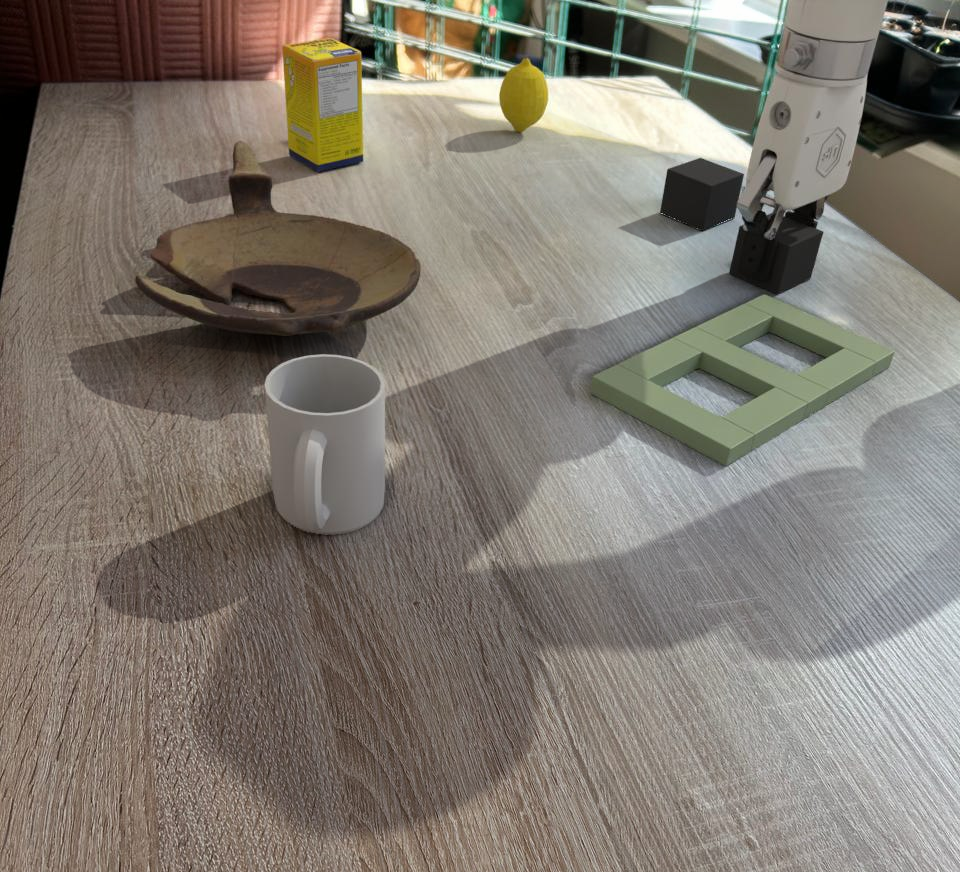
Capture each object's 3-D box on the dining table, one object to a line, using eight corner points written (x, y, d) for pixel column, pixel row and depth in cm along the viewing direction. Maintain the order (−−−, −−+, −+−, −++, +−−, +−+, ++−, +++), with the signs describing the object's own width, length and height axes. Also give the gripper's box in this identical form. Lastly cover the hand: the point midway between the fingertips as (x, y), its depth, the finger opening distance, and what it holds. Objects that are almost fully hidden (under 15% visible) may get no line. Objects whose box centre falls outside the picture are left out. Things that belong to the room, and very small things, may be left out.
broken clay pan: (107, 378, 82) (89, 280, 77) (199, 219, 104) (190, 135, 99) (405, 400, 83) (406, 304, 77) (434, 237, 105) (437, 154, 99)
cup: (393, 479, 75) (394, 361, 69) (366, 571, 68) (364, 447, 62) (289, 467, 75) (280, 348, 69) (250, 557, 68) (237, 433, 62)
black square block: (692, 201, 115) (700, 157, 112) (734, 218, 113) (744, 173, 110) (659, 213, 112) (667, 168, 109) (702, 231, 110) (711, 185, 107)
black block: (762, 258, 106) (773, 211, 103) (811, 278, 103) (823, 231, 100) (728, 273, 103) (739, 226, 100) (777, 294, 100) (790, 246, 97)
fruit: (519, 143, 125) (526, 67, 120) (487, 129, 128) (492, 54, 123) (554, 134, 128) (562, 59, 123) (521, 121, 131) (527, 47, 125)
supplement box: (333, 145, 121) (329, 36, 114) (364, 163, 118) (363, 51, 110) (286, 155, 118) (280, 43, 111) (317, 173, 115) (313, 59, 107)
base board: (760, 309, 98) (764, 293, 97) (889, 367, 91) (895, 350, 90) (589, 393, 85) (592, 375, 84) (725, 466, 79) (730, 449, 78)
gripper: (805, 84, 83) (751, 308, 96) (917, 49, 93) (855, 257, 105) (725, 59, 87) (683, 278, 99) (841, 28, 96) (789, 231, 109)
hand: (772, 265), depth 102 cm, fingers closed on black block, 5 cm apart
